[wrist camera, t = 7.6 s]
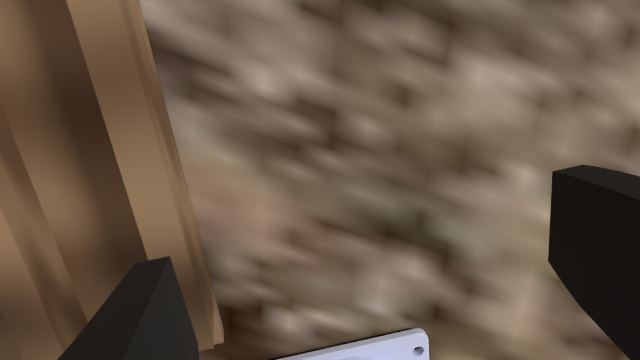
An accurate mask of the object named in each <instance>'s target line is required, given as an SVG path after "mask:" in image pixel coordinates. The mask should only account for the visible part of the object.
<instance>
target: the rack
mask: <svg viewBox="0 0 640 360" xmlns="http://www.w3.org/2000/svg"><path fill="white" fill-rule="evenodd" d="M167 256H170V258H171V261H172V264H173V267H174V270H175V273H176V276H177V280H178V283H179V286H180V289H181V292H182V295H183V298H184V301H185V304H186V307H187V311H188V314H189V317H190V320H191V323H192V326H193V329H194V332H195V335H196V338H197V342H198V347H199V351H203V350H207V349H212V348H214V344H219V343H223V342H224V331H223V325H222V322H221V318H220V314H219V310H218V306H217V302H216V298H215V294H214V291H213V287H212V283H211V279H210V275H209V271H208V267H207V263H206V260H205V256H204V252H203V248H202V244H201V240H200V236H199V233H198V229H197V225H196V221H195V217H194V213H193V209H192V205H191V202H190V198H189V194H188V190H187V186H186V182H185V178H184V174H183V171H182V167H181V163H180V159H179V155H178V151H177V147H176V144H175V140H174V136H173V132H172V128H171V124H170V120H169V116H168V113H167V109H166V105H165V101H164V97H163V93H162V89H161V85H160V82H159V78H158V74H157V70H156V66H155V62H154V58H153V54H152V51H151V47H150V43H149V39H148V35H147V31H146V27H145V24H144V20H143V16H142V12H141V8H140V4H139V0H0V360H57V359H58V358H59V357H60V356H61V355H62V354H63V352H64V351H65V350H66V349H67V348H68V347H69V346H70V345H71V343H72V342H73V341H74V340H75V339H76V337H77V336H78V335H79V334H80V332H81V331H82V330H83V329H84V327H85V326H86V325H87V324H88V322H89V321H90V320H91V319H92V317H93V316H94V315H95V314H96V312H97V311H98V310H99V309H100V307H101V306H102V305H103V304H104V302H105V301H106V300H107V298H108V297H109V296H110V294H111V293H112V292H113V291H114V289H115V288H116V287H117V285H118V284H119V283H120V281H121V280H122V279H123V278H124V276H125V275H126V274H127V273H128V271H129V270H130V269H131V268H132V267H133V265H134V264H135V263H140V262H144V261H149V260H153V259H158V258H163V257H167Z"/></svg>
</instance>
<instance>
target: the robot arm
mask: <svg viewBox="0 0 640 360" xmlns="http://www.w3.org/2000/svg"><path fill="white" fill-rule="evenodd" d="M548 262H549V263H550V265H551V266H552V268H553V269H554V270H555V272H556V273H557V275H558V276H559V278H560V279H561V281H562V282H563V284H564V285H565V287H566V288H567V289H568V291H569V292H570V293H571V295H572V296H573V298H574V299H575V300H576V302H577V303H578V304H579V305H580V306H581V307H582V309H583V310H584V311H585V312H586V313H587V314H588V315H589V316H590V317H591V318H592V320H593V321H594V322H595V323H596V324H597V325H598V326H599V327H600V328H601V329H602V330H603V331H604V333H605V334H606V335H607V336H608V337H609V338H610V339H611V340H612V341H613V342H614V343H615V344H616V345H617V346H618V347H619V348H620V350H621V351H622V352H623V353H624V354H625V355H626V356H627V357H628V358H629V359H630V360H640V177H639V176H635V175H631V174H627V173H623V172H619V171H614V170H610V169H605V168H600V167H594V166H588V165H580V166H575V167H571V168H566V169H562V170H557V171H553V175H552V195H551V215H550V236H549V256H548ZM416 347H419V348H418V349H416V350H414V349H415V348H416ZM57 360H199V347H198V342H197V338H196V335H195V332H194V329H193V326H192V323H191V320H190V317H189V314H188V311H187V307H186V304H185V301H184V298H183V295H182V292H181V289H180V286H179V283H178V280H177V276H176V273H175V270H174V267H173V264H172V261H171V258H170V256H167V257H163V258H158V259H153V260H149V261H144V262H140V263H135V264H134V265H133V267H132V268H131V269H130V270H129V271H128V273H127V274H126V275H125V276H124V278H123V279H122V280H121V281H120V283H119V284H118V285H117V287H116V288H115V289H114V291H113V292H112V293H111V294H110V296H109V297H108V298H107V300H106V301H105V302H104V304H103V305H102V306H101V307H100V309H99V310H98V311H97V312H96V314H95V315H94V316H93V317H92V319H91V320H90V321H89V322H88V324H87V325H86V326H85V327H84V329H83V330H82V331H81V332H80V334H79V335H78V336H77V337H76V339H75V340H74V341H73V342H72V343H71V345H70V346H69V347H68V348H67V349H66V350H65V351H64V352H63V354H62V355H61V356H60V357H59V358H58V359H57ZM277 360H429V343H428V337H427V335H426V333H425V331H424V330H422V329H419V328H417V329H411V330H406V331H402V332H397V333H393V334H389V335H384V336H380V337H375V338H371V339H366V340H362V341H357V342H353V343H348V344H344V345H339V346H335V347H331V348H326V349H322V350H317V351H313V352H308V353H304V354H299V355H295V356H290V357H286V358H282V359H277Z"/></svg>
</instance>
